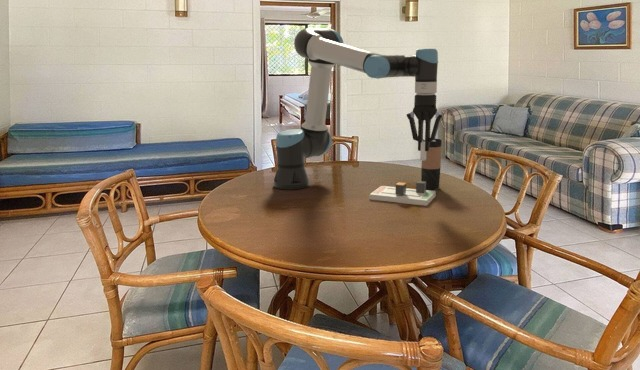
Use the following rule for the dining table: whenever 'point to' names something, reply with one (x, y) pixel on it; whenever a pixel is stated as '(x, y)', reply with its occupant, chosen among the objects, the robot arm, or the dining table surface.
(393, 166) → the dining table surface
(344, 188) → the dining table surface
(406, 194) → the board
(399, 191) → the breaker handle
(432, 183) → the travel mug
